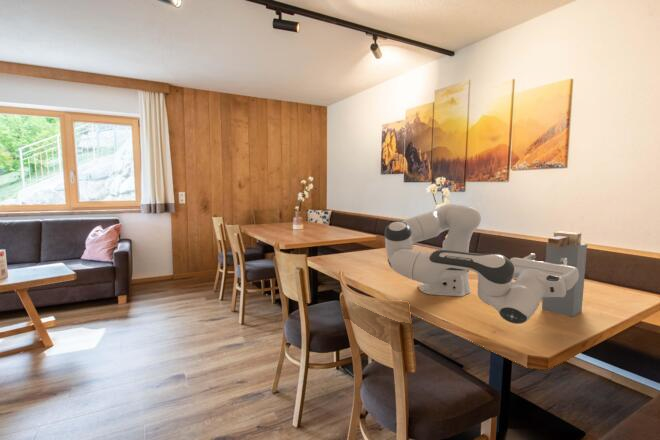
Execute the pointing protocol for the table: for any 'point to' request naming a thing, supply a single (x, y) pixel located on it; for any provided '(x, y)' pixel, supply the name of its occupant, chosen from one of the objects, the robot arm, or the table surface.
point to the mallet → (564, 239)
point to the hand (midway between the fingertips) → (548, 257)
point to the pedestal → (574, 296)
